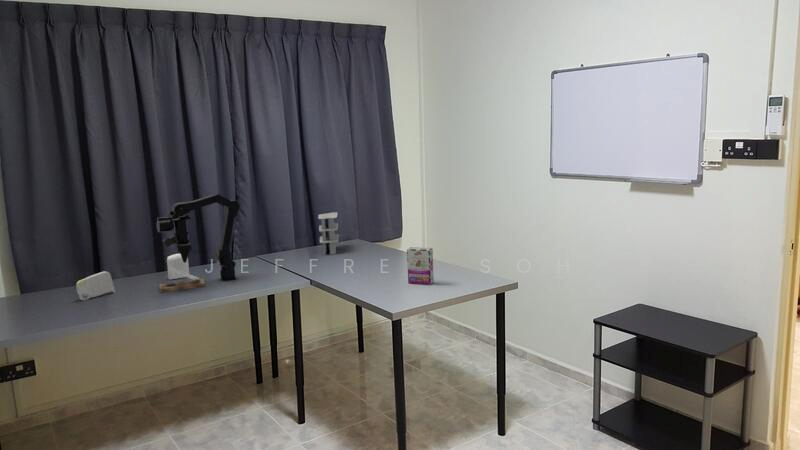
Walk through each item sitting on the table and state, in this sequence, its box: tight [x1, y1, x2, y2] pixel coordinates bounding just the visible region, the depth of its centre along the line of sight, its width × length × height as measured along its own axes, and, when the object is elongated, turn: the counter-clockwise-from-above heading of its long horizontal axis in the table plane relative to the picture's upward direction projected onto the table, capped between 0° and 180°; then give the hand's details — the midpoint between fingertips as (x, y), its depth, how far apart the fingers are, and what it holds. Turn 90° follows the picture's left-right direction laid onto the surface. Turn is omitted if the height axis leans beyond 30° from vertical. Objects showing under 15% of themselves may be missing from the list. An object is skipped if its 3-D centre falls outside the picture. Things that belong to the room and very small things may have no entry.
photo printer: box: [166, 253, 190, 280], centre depth 296 cm, size 10×4×12 cm, turn 123°
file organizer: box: [317, 211, 340, 256], centre depth 347 cm, size 26×35×22 cm
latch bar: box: [169, 267, 200, 281], centre depth 278 cm, size 15×4×1 cm, turn 116°
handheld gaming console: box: [75, 270, 116, 301], centre depth 267 cm, size 11×3×15 cm
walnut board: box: [159, 278, 206, 293], centre depth 279 cm, size 20×10×3 cm, turn 115°
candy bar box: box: [406, 247, 435, 286], centre depth 269 cm, size 11×5×16 cm, turn 68°
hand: (184, 261), depth 278 cm, fingers open, 2 cm apart
